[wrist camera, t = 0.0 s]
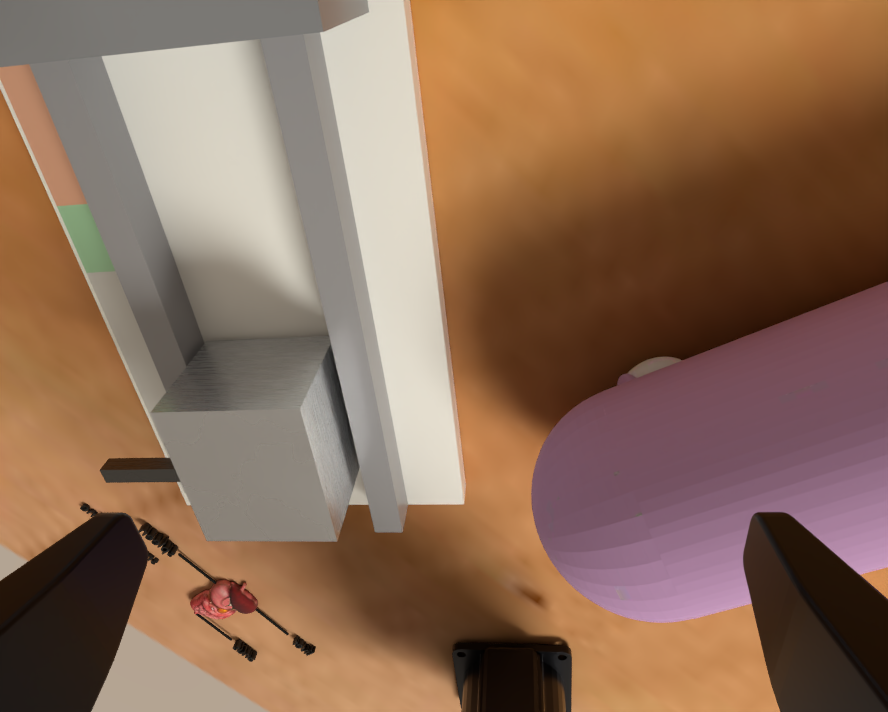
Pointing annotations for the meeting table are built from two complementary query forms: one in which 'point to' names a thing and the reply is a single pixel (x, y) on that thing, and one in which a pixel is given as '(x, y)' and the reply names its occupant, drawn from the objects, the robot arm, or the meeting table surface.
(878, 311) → the toy
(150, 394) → the gauge bed
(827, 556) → the robot arm
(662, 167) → the meeting table surface
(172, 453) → the brushed metal block
